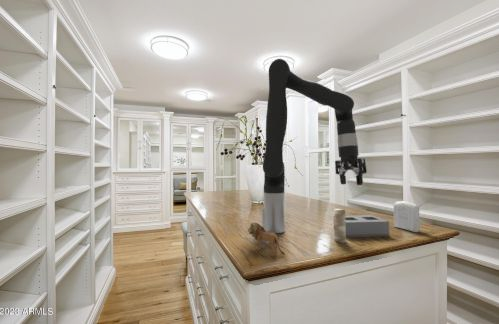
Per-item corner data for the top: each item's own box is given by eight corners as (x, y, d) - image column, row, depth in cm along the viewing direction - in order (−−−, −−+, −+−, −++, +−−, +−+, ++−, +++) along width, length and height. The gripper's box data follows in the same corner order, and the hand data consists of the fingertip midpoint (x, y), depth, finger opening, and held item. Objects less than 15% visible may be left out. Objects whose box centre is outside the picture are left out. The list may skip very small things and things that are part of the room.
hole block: (346, 237, 95) (345, 222, 95) (333, 229, 107) (333, 216, 107) (389, 236, 96) (389, 221, 96) (372, 228, 108) (372, 215, 108)
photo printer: (421, 231, 102) (420, 202, 102) (415, 232, 100) (414, 203, 100) (398, 225, 111) (397, 199, 111) (392, 226, 110) (391, 200, 110)
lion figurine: (245, 248, 84) (245, 223, 84) (255, 244, 88) (254, 220, 88) (280, 258, 74) (280, 230, 74) (289, 253, 78) (289, 226, 78)
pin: (333, 241, 90) (333, 210, 90) (335, 238, 93) (335, 208, 93) (344, 243, 88) (344, 211, 88) (346, 240, 91) (346, 209, 91)
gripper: (328, 147, 102) (332, 185, 102) (354, 143, 89) (358, 186, 89) (342, 147, 105) (345, 183, 105) (368, 142, 92) (372, 184, 91)
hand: (351, 184), depth 97 cm, fingers open, 8 cm apart
